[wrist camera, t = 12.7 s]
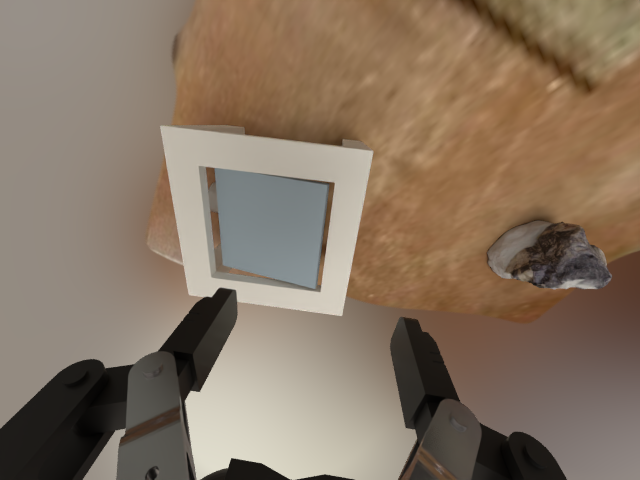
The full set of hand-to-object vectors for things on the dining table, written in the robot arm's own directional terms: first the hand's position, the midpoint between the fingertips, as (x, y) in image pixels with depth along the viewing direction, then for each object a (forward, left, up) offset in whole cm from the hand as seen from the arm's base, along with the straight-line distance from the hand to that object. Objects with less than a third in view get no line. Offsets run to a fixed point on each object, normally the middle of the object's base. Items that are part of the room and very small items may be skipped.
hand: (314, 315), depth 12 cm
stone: (+8, +36, -33) cm, 49 cm away
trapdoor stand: (+5, -7, -33) cm, 34 cm away
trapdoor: (+5, -7, -19) cm, 21 cm away
